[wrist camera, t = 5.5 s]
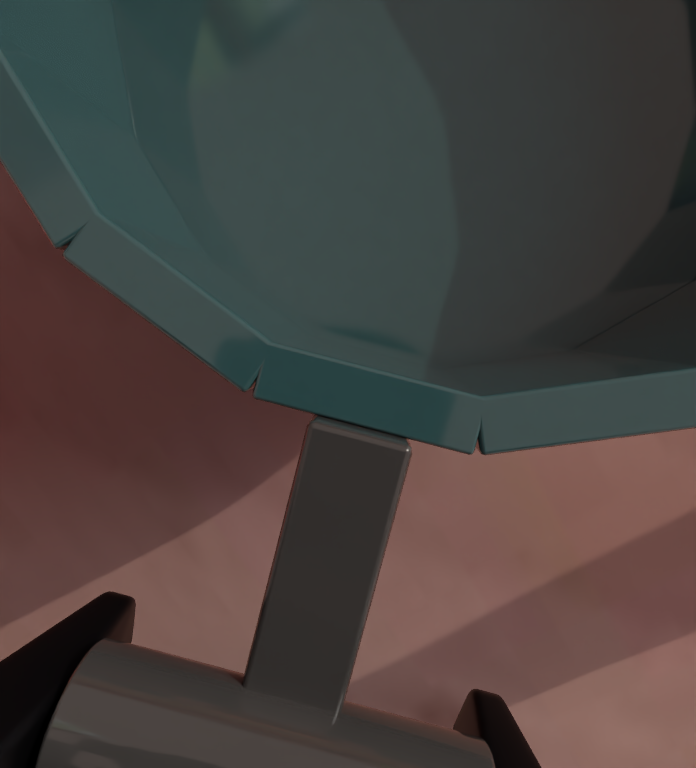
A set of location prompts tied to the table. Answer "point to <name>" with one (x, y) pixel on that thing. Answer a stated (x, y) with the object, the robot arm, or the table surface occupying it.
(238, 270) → the saucepan
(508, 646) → the table surface
